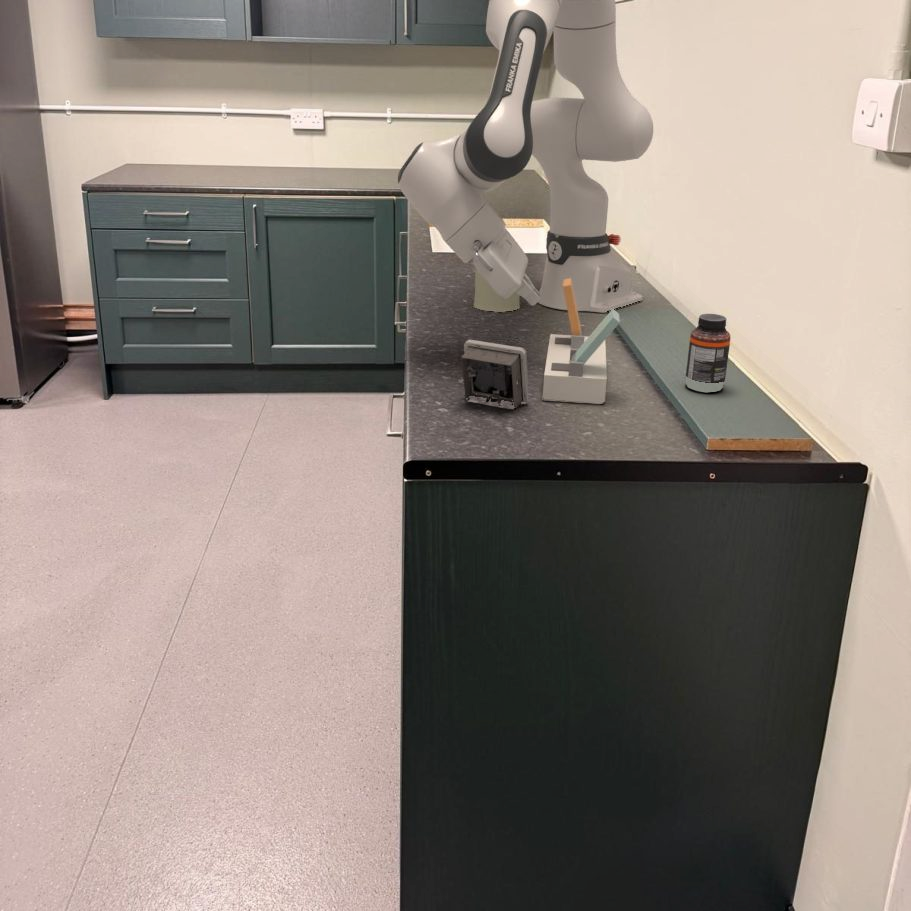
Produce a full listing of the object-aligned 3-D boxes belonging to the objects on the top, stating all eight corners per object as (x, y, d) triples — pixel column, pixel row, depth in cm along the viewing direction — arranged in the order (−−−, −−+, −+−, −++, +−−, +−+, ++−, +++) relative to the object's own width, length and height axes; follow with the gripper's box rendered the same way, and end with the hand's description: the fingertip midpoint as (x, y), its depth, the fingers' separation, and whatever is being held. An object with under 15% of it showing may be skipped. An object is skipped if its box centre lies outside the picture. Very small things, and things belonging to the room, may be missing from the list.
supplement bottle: (695, 379, 153) (704, 309, 149) (730, 388, 150) (740, 316, 145) (677, 388, 149) (685, 316, 144) (713, 397, 145) (723, 324, 141)
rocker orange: (574, 346, 154) (562, 286, 150) (574, 337, 159) (563, 279, 155) (582, 344, 153) (571, 285, 150) (583, 335, 158) (571, 277, 155)
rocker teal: (569, 368, 141) (612, 317, 137) (570, 357, 146) (612, 308, 142) (576, 374, 141) (620, 323, 137) (577, 363, 146) (619, 313, 142)
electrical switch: (529, 404, 141) (531, 344, 136) (516, 418, 137) (517, 357, 132) (471, 393, 144) (470, 335, 140) (456, 407, 140) (455, 347, 136)
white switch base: (542, 401, 142) (544, 361, 139) (550, 347, 167) (552, 313, 165) (604, 405, 141) (608, 365, 138) (602, 350, 166) (605, 316, 164)
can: (473, 311, 188) (475, 250, 184) (473, 300, 197) (475, 241, 192) (520, 313, 188) (523, 251, 184) (519, 301, 197) (522, 242, 192)
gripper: (486, 234, 141) (549, 303, 144) (498, 212, 160) (554, 274, 163) (455, 263, 143) (517, 331, 146) (471, 238, 162) (526, 299, 165)
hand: (537, 301), depth 154 cm, fingers closed
